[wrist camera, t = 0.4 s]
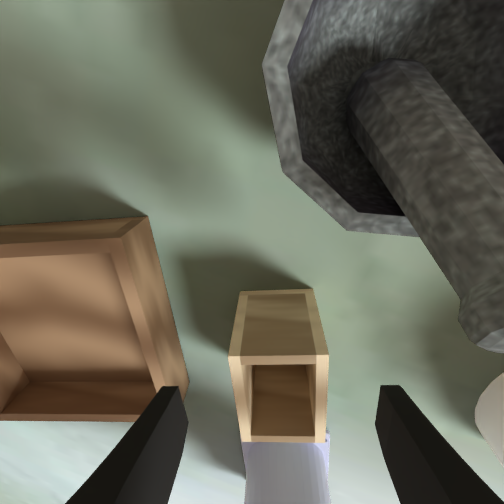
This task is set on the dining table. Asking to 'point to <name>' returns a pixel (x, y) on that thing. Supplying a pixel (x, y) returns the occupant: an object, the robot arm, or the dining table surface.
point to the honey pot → (492, 416)
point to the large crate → (84, 322)
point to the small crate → (279, 367)
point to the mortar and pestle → (401, 130)
